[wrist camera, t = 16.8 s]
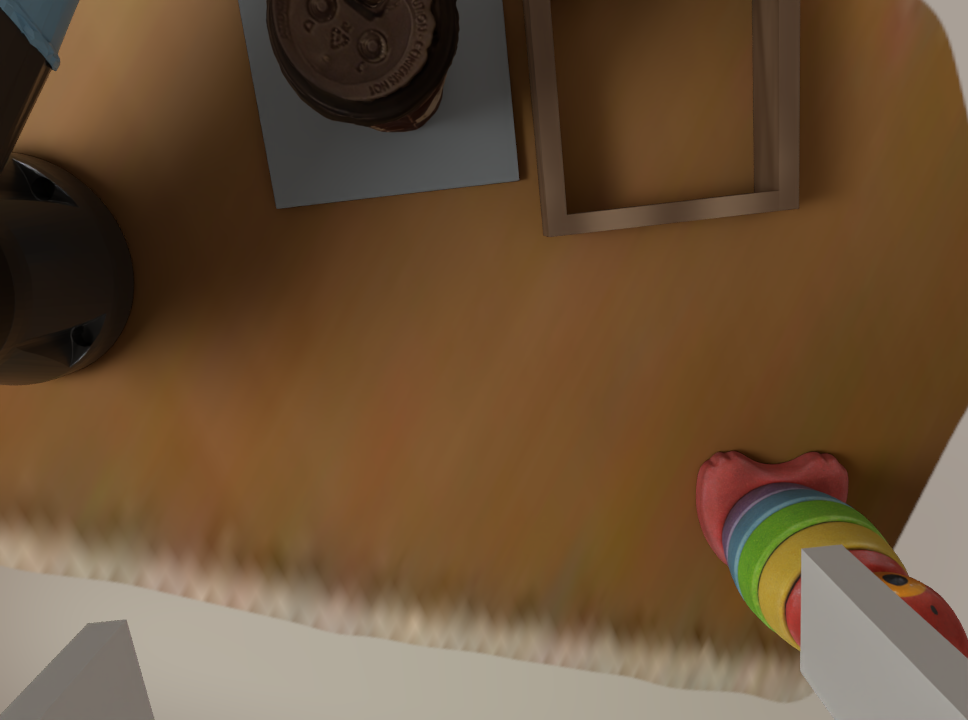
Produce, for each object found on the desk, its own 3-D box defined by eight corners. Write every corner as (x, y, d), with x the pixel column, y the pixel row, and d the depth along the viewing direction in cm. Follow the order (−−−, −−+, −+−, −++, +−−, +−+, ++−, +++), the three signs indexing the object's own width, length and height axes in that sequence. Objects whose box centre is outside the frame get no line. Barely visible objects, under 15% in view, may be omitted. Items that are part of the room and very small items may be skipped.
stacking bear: (845, 450, 45) (1073, 597, 28) (825, 573, 47) (1025, 779, 30) (698, 449, 45) (836, 595, 28) (686, 572, 47) (806, 779, 30)
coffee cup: (446, -11, 37) (429, -127, 25) (480, 130, 39) (480, 89, 26) (309, 27, 38) (223, -67, 25) (349, 165, 40) (288, 141, 27)
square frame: (543, 235, 41) (549, 237, 38) (520, -18, 38) (525, -42, 34) (772, 209, 41) (799, 208, 38) (771, -49, 37) (800, -75, 34)
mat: (279, 208, 41) (276, 208, 40) (236, -26, 38) (232, -30, 37) (518, 180, 40) (519, 180, 40) (496, -58, 37) (496, -62, 37)
